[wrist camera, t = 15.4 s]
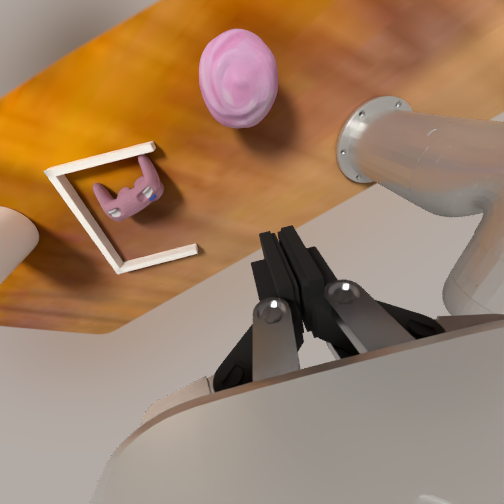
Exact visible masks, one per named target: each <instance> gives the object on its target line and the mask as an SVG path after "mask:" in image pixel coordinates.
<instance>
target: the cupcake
mask: <svg viewBox="0 0 504 504" xmlns="http://www.w3.org/2000/svg"><path fill="white" fill-rule="evenodd" d="M199 83H200V89H201V92H202V96H203V99H204V102H205V104H206V106H207V108H208V109H209V111H210V113H211V114H212V116H213V117H214V118H215V119H216V120H217V121H218V122H219V123H221V124H222V125H224V126H227V127H231V128H249V127H252V126H255V125H257V124H258V123H259V122H260V121H262V120H263V119H264V118H265V116H266V115H267V114H268V113H269V111H270V109H271V108H272V105H273V103H274V101H275V98H276V95H277V91H278V71H277V64H276V60H275V58H274V56H273V54H272V52H271V51H270V49H269V48H268V47H267V46H266V44H265V43H264V42H263V41H262V40H261V39H260V38H259V37H258V36H257V35H255V34H254V33H252V32H249V31H247V30H243V29H232V30H229V31H226V32H224V33H222V34H220V35H219V36H217V37H216V38H214V39H213V40H211V41H210V42H209V43H208V45H207V46H206V48H205V50H204V51H203V53H202V56H201V59H200V65H199Z"/></svg>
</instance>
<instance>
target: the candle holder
mask: <svg viewBox="0 0 504 504" xmlns="http://www.w3.org/2000/svg"><path fill="white" fill-rule="evenodd" d="M38 242H39V233H38V230H37V228H36V226H35V225H34V224H33V223H32V222H31V221H30V220H29V219H28V218H27V217H26V216H24V215H23V214H21V213H19V212H17V211H15V210H13V209H10V208H7V207H2V206H0V285H1V284H2V283H3V282H4V281H5V279H6V278H7V277H8V276H9V275H10V274H11V273H12V272H13V271H14V270H15V269H16V268H17V267H18V266H19V264H20V263H21V262H22V261H23V260H24V259H25V258H26V257H27V256H28V255H29V254H30V253H31V251H32V250H33V249H34V248H35V247H36V246H37V244H38Z"/></svg>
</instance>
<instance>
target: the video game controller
mask: <svg viewBox="0 0 504 504" xmlns="http://www.w3.org/2000/svg"><path fill="white" fill-rule="evenodd" d="M138 162H139V164H140V167H141V169H142V172H143V176H144V177H143V176H142V177H140V178H138V179H137V180H136V181H135V183H134V188H132V189H129V188H128V187H125V188H123V189H121V190H120V192H119V193H118V196H117V199H114V198H113V197H112V196H111V195H110V193H109V192H108V190H107V189H106V188H105V187H104V186H103V185H101V184H100V183H94V185H93V191H94V193H95V195H96V197H97V199H98V201H99V203H100V205H101V207H102V209H103V210H104V212H105V213H106V214H107V215H108V216H109V217H110V218H112V219H113V220H115V221H123V220H124V219H126V218H128V217H130V216H132V215H134V214H136V213H138V212H139V211H141V210H142V209H144V208H145V207H146V206H148V205H149V204H150V203H151V202H154V201H156V200H158V199H159V198H160V197H161V195H162V194H163V191H164V186H163V184H162V183H161V182H160V178H159V176H158V173H157V171H156V169H155V167H154V165H153V164H152V162H151V161H150V159H149V158H148V157H147V156H146V155H144V154H141V155H138Z"/></svg>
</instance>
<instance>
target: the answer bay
mask: <svg viewBox="0 0 504 504" xmlns="http://www.w3.org/2000/svg"><path fill="white" fill-rule="evenodd" d="M155 149H156V146H155V144H154V141H151V142H147V143H143V144H139V145H135V146H131V147H128V148H124V149H120V150H116V151H112V152H108V153H104V154H100V155H97V156H93V157H89V158H85V159H81V160H77V161H73V162H69V163H65V164H62V165H58V166H54V167H51V168H49V169H47V170H45V171H44V173H45V174H46V175H47V177H48V178H49V180H50V181H51V182H52V184H53V185H54V187H55V188H56V189H57V191H58V192H59V193H60V195H61V196H62V198H63V199H64V200H65V202H66V203H67V205H68V206H69V207H70V209H71V210H72V212H73V213H74V214H75V216H76V217H77V219H78V220H79V221H80V223H81V224H82V225H83V227H84V228H85V230H86V231H87V232H88V234H89V235H90V237H91V238H92V239H93V241H94V242H95V244H96V245H97V246H98V248H99V249H100V251H101V252H102V253H103V255H104V256H105V257H106V259H107V260H108V262H109V263H110V264H111V266H112V267H113V269H114V270H115V271H116V273H117V274H120V273H124V272H128V271H132V270H136V269H140V268H144V267H147V266H151V265H155V264H159V263H163V262H167V261H171V260H175V259H179V258H182V257H186V256H190V255H194V254H197V253H198V247H197V244H196V243H195V244H192V245H188V246H184V247H180V248H176V249H172V250H168V251H164V252H160V253H157V254H153V255H149V256H145V257H141V258H137V259H133V260H129V261H125V262H123V261H122V259H121V258H120V256H119V255H118V254H117V252H116V251H115V249H114V248H113V246H112V245H111V243H110V242H109V240H108V239H107V237H106V236H105V234H104V233H103V231H102V230H101V228H100V227H99V225H98V224H97V222H96V221H95V219H94V218H93V216H92V215H91V213H90V212H89V210H88V209H87V207H86V206H85V204H84V203H83V201H82V200H81V199H80V197H79V196H78V194H77V193H76V191H75V190H74V188H73V187H72V185H71V184H70V182H69V181H68V179H67V178H66V176H65V175H64V174H67V173H71V172H75V171H79V170H83V169H86V168H90V167H94V166H98V165H102V164H106V163H110V162H114V161H117V160H121V159H125V158H129V157H133V156H137V155H141V154H145V153H149V152H152V151H154V150H155Z"/></svg>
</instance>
